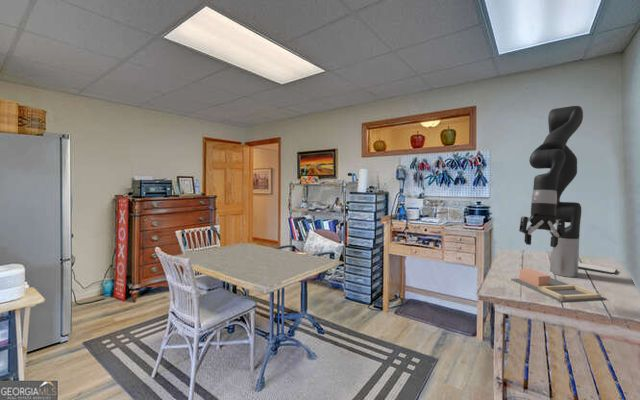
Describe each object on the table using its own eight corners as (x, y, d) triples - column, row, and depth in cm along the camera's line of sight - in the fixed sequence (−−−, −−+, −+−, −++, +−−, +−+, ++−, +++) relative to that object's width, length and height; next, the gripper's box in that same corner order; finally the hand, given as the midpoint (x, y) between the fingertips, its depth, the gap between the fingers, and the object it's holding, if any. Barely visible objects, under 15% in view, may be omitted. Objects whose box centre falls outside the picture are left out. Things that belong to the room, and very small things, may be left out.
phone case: (617, 272, 139) (573, 264, 151) (617, 269, 139) (573, 261, 151) (615, 276, 133) (569, 268, 145) (615, 273, 133) (569, 265, 145)
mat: (511, 279, 128) (511, 276, 128) (549, 278, 130) (549, 274, 130) (560, 302, 105) (561, 297, 105) (606, 299, 106) (606, 295, 106)
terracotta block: (519, 279, 128) (519, 269, 127) (529, 278, 128) (530, 268, 128) (538, 287, 118) (538, 276, 118) (549, 287, 118) (550, 276, 118)
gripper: (558, 204, 113) (554, 246, 112) (517, 201, 115) (514, 242, 114) (571, 204, 105) (568, 249, 105) (528, 200, 107) (525, 245, 107)
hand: (540, 245), depth 110 cm, fingers open, 8 cm apart
